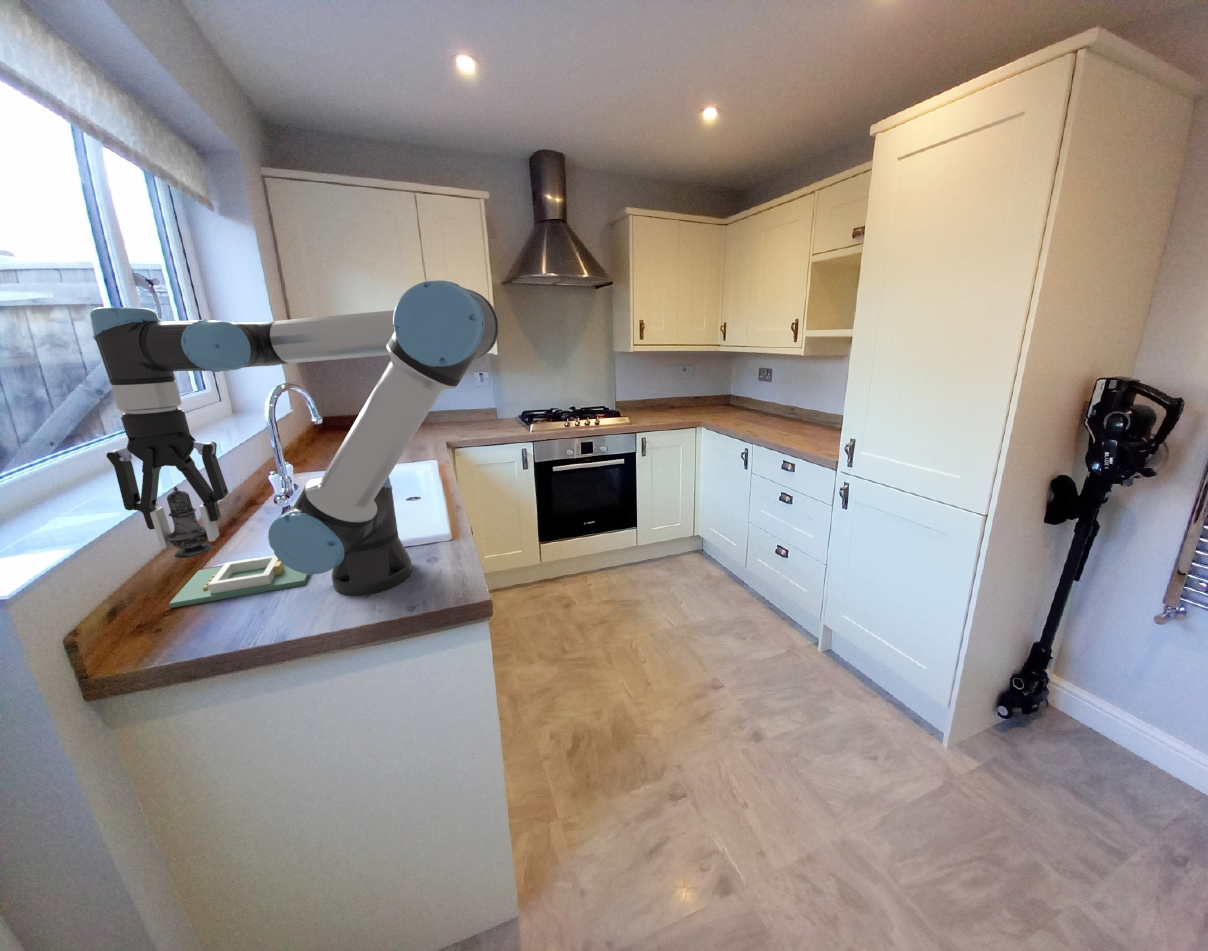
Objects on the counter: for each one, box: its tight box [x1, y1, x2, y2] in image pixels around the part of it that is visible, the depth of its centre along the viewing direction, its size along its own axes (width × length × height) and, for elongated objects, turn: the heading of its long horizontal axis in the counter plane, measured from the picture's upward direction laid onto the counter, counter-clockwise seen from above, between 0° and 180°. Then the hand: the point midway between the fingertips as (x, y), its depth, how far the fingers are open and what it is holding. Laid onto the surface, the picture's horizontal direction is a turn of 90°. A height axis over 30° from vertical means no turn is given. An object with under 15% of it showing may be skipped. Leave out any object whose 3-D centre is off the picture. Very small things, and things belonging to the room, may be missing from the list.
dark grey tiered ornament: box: [166, 486, 214, 559], centre depth 80 cm, size 6×6×12 cm
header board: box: [168, 554, 310, 609], centre depth 97 cm, size 22×14×3 cm, turn 112°
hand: (191, 541), depth 81 cm, fingers closed on dark grey tiered ornament, 6 cm apart
